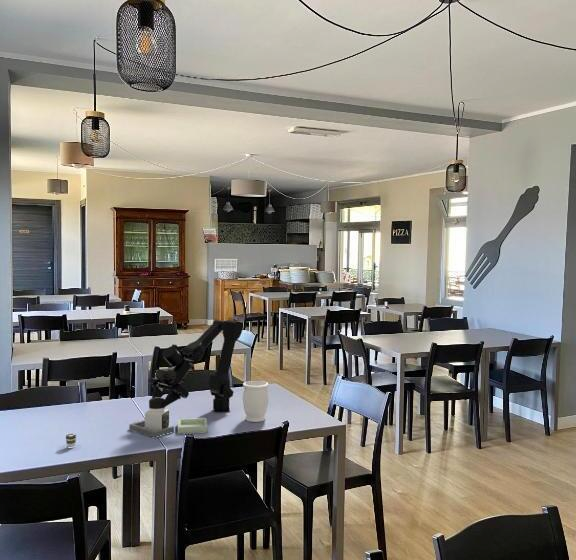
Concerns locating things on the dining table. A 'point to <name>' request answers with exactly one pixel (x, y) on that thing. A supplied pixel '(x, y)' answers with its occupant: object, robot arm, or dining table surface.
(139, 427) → the holder
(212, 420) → the dining table surface
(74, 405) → the dining table surface
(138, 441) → the dining table surface
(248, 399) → the jar
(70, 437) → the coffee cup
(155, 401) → the medicine bottle
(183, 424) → the tray
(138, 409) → the dining table surface
